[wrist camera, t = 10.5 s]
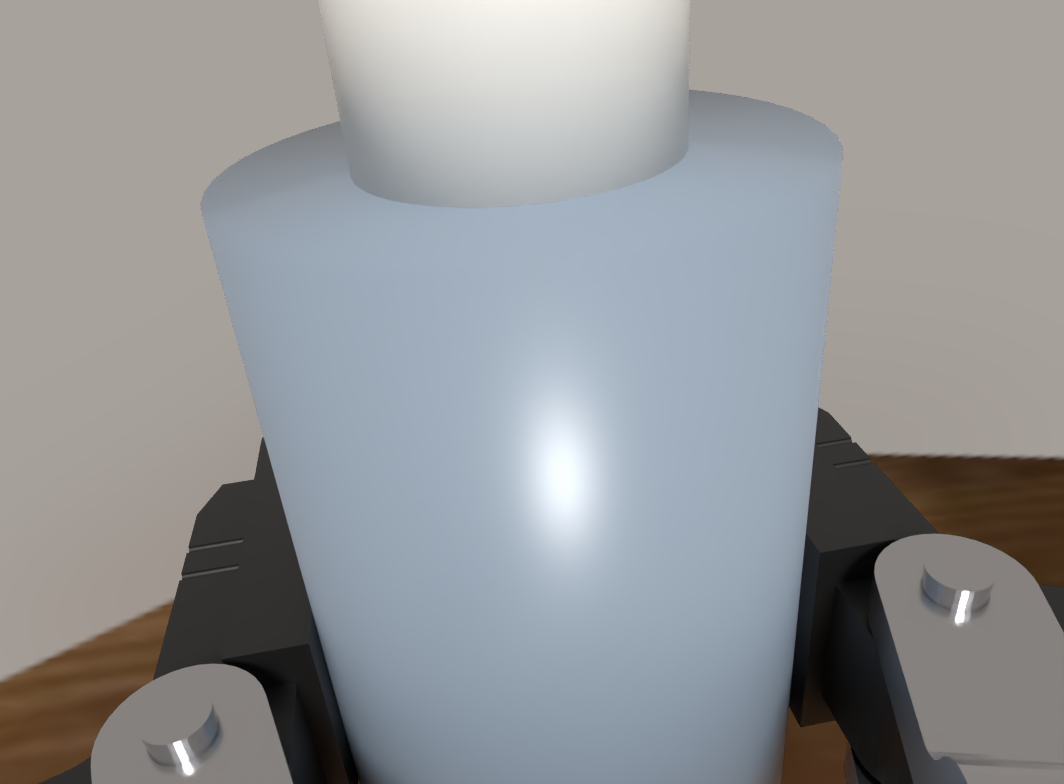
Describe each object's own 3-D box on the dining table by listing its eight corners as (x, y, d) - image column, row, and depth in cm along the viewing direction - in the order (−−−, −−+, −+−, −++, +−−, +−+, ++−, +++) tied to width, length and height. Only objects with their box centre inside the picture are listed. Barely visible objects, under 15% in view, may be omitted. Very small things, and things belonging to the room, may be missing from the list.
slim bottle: (450, 1259, 10) (-41, -181, 3) (426, 889, 14) (180, -135, 7) (811, 1165, 11) (1085, -267, 4) (693, 832, 14) (714, -180, 7)
